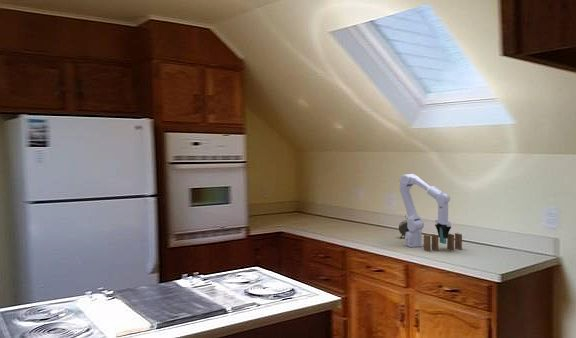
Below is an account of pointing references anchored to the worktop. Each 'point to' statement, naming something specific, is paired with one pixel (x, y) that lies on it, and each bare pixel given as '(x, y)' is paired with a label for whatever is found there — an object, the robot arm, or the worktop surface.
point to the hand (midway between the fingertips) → (442, 237)
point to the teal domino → (442, 237)
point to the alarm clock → (403, 227)
